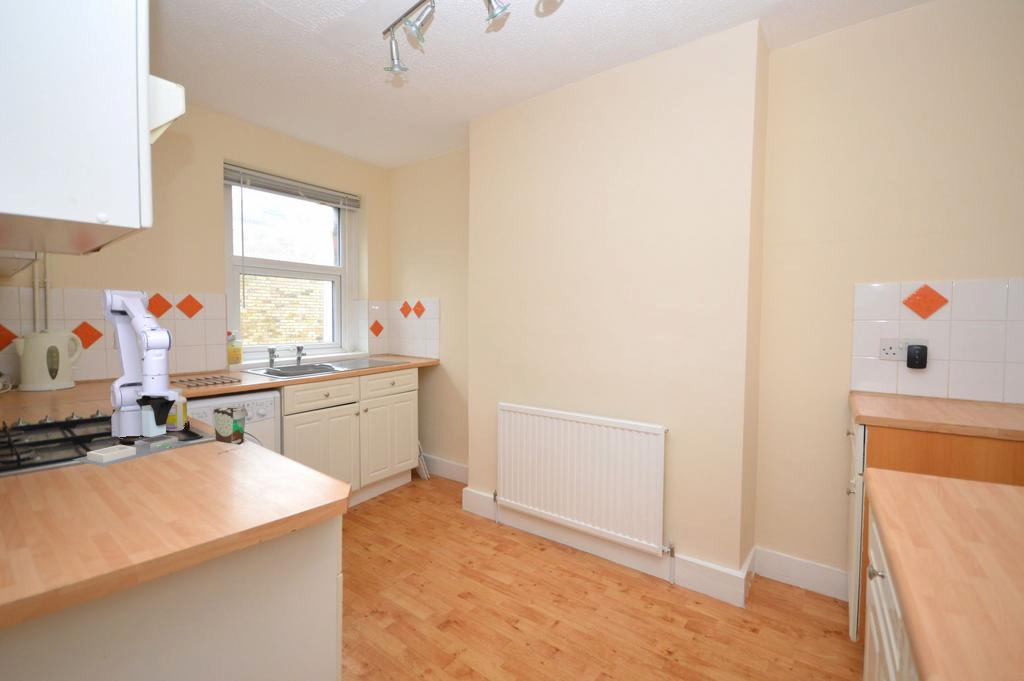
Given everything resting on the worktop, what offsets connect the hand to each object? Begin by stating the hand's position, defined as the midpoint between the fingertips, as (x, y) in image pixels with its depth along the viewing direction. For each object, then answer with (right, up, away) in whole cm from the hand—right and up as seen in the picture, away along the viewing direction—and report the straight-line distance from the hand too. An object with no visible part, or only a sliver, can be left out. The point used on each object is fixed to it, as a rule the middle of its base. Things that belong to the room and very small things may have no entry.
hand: (156, 424), depth 122 cm
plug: (0, -3, 0) cm, 3 cm away
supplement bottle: (-10, -6, +20) cm, 23 cm away
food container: (+16, -7, +9) cm, 19 cm away
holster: (-4, -7, -9) cm, 13 cm away
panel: (-2, -7, -4) cm, 9 cm away
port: (+1, -6, 0) cm, 6 cm away
